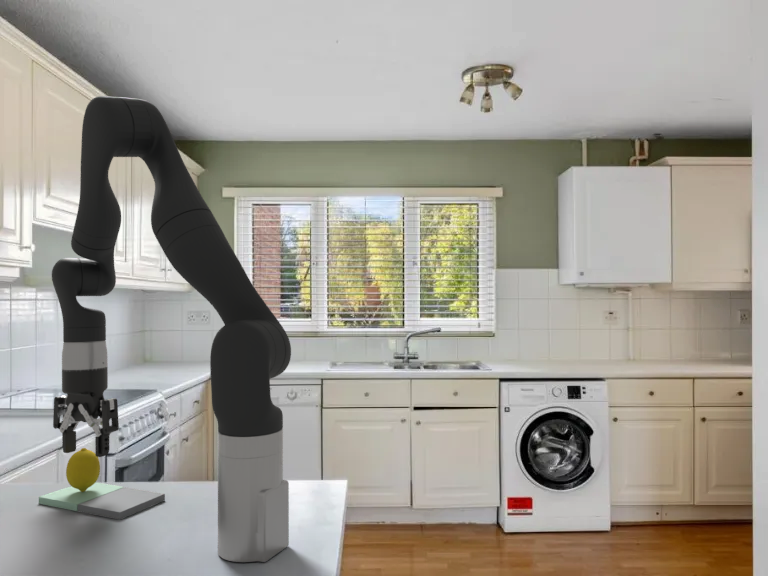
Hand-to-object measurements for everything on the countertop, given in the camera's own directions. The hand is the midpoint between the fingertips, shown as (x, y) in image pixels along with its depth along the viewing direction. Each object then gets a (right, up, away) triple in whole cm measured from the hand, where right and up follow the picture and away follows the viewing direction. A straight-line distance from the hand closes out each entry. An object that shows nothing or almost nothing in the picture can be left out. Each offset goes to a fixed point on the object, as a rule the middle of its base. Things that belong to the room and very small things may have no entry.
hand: (85, 454), depth 106 cm
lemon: (0, -7, 0) cm, 7 cm away
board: (+4, -8, -2) cm, 9 cm away
